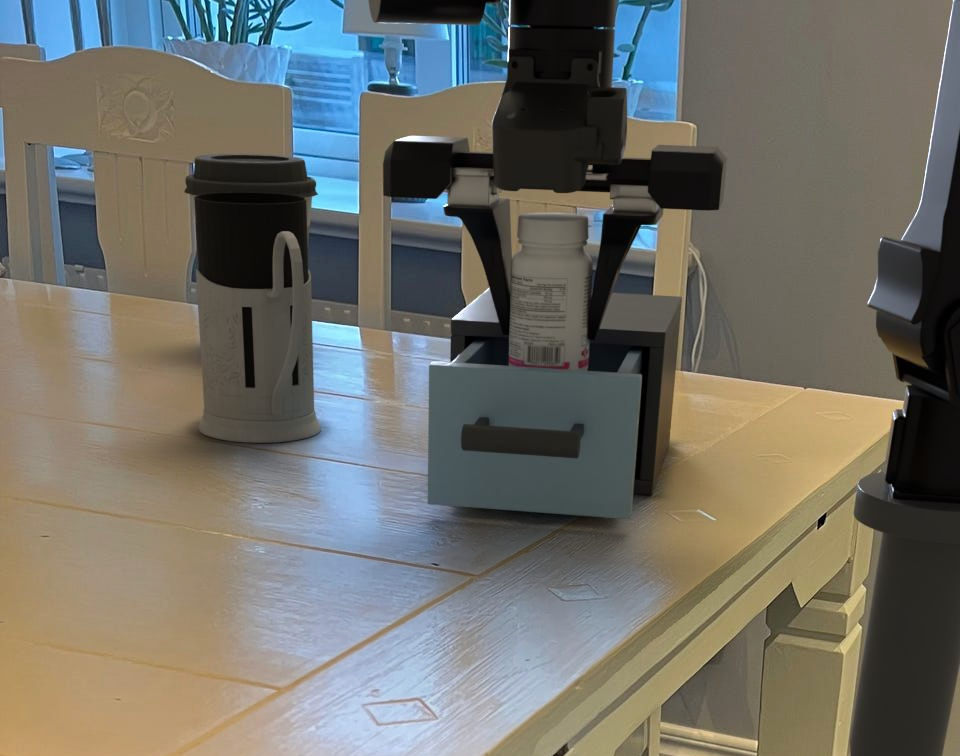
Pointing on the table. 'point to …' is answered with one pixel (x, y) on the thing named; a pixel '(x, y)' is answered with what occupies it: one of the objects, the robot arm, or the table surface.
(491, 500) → the drawer
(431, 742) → the table surface
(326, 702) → the table surface
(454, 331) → the cabinet
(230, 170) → the coffee cup
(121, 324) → the table surface
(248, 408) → the glass holder
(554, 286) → the pill bottle
